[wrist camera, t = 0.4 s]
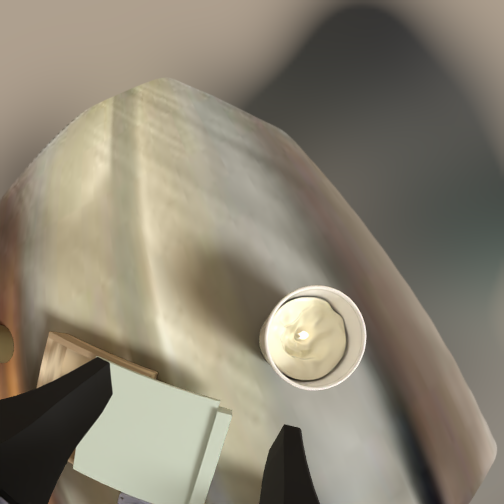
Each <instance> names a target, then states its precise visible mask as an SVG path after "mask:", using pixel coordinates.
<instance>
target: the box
mask: <svg viewBox="0 0 504 504" xmlns="http://www.w3.org/2000/svg"><path fill="white" fill-rule="evenodd" d="M96 356H99V357H102V358H104V359H106V360H108V361H111V362H113V363H115V364H118V365H120V366H123V367H125V368H127V369H130V370H132V371H135V372H137V373H140V374H142V375H145V376H148V377H150V378H153V379H156V378H157V374H158V372H156V371H153V370H150V369H148V368H145V367H142V366H140V365H137V364H135V363H132V362H130V361H127V360H125V359H122V358H120V357H118V356H115V355H113V354H111V353H108V352H106V351H104V350H101V349H99V348H97V347H95V346H92V345H90V344H88V343H86V342H84V341H82V340H80V339H78V338H76V337H73V336H71V335H69V334H67V333H58V332H49V335H48V339H47V343H46V347H45V351H44V355H43V360H42V364H41V369H40V374H39V378H38V384H37V388H38V387H41V386H43V385H45V384H47V383H49V382H52V381H54V380H56V379H58V378H60V377H61V376H63V375H65V374H67V373H69V372H71V371H73V370H75V369H76V368H78V367H80V366H82V365H83V364H85V363H87V362H89V361H91V360H92V359H94V358H96ZM75 451H76V448H75V450H74V451H73V453H72V454H71V456H70V458H69V460H68V462H70V463H72V464H74V458H75Z"/></svg>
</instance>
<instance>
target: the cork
mask: <svg viewBox="0 0 504 504" xmlns="http://www.w3.org/2000/svg"><path fill="white" fill-rule="evenodd" d="M13 352H14V342H13V337H12V335H11V332H10V331H9V329H8V328H6V327H5V326H3V325H0V363H6V362H8V361H9V360H10V359H11V357H12V355H13Z"/></svg>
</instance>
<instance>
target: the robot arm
mask: <svg viewBox="0 0 504 504" xmlns="http://www.w3.org/2000/svg"><path fill="white" fill-rule="evenodd" d="M112 395H113V390H112V381H111V371H110V363H109V362H107V361H105V360H103V359H101V358H99V357H96V358H94V359H92V360H91V361H89V362H87V363H85V364H83V365H82V366H80V367H78V368H76V369H75V370H73V371H71V372H69V373H67V374H65V375H63V376H61V377H60V378H58V379H56V380H54V381H52V382H49V383H47V384H45V385H43V386H41V387H38V388H36V389H34V390H31V391H28V392H26V393H23V394H20V395H17V396H13V397H10V398H6V399H2V400H0V504H48V502H49V499H50V497H51V494H52V492H53V490H54V487H55V485H56V483H57V481H58V479H59V477H60V475H61V473H62V471H63V469H64V467H65V465H66V463H67V461H68V460H69V458H70V456H71V454H72V453H73V451H74V450H75V448H76V447H77V445H78V444H79V443H80V441H81V440H82V439H83V437H84V436H85V435H86V433H87V432H88V431H89V430H90V428H91V427H92V426H93V424H94V423H95V422H96V420H97V419H98V418H99V416H100V415H101V414H102V412H103V411H104V409H105V407H106V405H107V404H108V402H109V400H110V398H111V396H112ZM121 497H123V498H124V499H122V498H121ZM118 504H152V503H149V502H147V501H144V500H141V499H138V498H136V497H133V496H131V495H128V494H126V493H123V492H121V493H120V494H119V499H118ZM259 504H320V503H319V500H318V497H317V495H316V492H315V489H314V486H313V483H312V479H311V476H310V472H309V468H308V464H307V460H306V456H305V451H304V446H303V440H302V433H301V429H300V428H298V427H294V426H289V425H285V424H284V426H283V427H282V429H281V431H280V433H279V434H278V436H277V438H276V440H275V441H274V443H273V445H272V446H271V448H270V450H269V453H268V457H267V461H266V465H265V469H264V474H263V481H262V488H261V495H260V502H259Z"/></svg>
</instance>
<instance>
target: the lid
mask: <svg viewBox="0 0 504 504" xmlns="http://www.w3.org/2000/svg"><path fill="white" fill-rule="evenodd" d="M96 357H99V356H96ZM99 358H101V359H103V360H105V361H107V362H109V363H110V371H111V381H112V390H113V395H112V396H111V398H110V400H109V402H108V404H107V405H106V407H105V409H104V411H103V412H102V414H101V415H100V416H99V418H98V419H97V420H96V422H95V423H94V424H93V426H92V427H91V428H90V430H89V431H88V432H87V433H86V435H85V436H84V437H83V439H82V440H81V441H80V443H79V444H78V445H77V447H76V451H75V458H74V465H73V469H74V470H76V471H78V472H80V473H82V474H84V475H86V476H88V477H90V478H92V479H94V480H96V481H98V482H100V483H103V484H105V485H107V486H109V487H111V488H114V489H116V490H118V491H121V492H123V493H126V494H128V495H131V496H133V497H136V498H139V499H141V500H144V501H147V502H150V503H152V504H204V503H205V500H206V497H207V494H208V491H209V488H210V485H211V482H212V479H213V475H214V472H215V469H216V466H217V463H218V460H219V457H220V454H221V450H222V447H223V444H224V441H225V438H226V434H227V431H228V428H229V425H230V422H231V418H232V410H230V409H227V408H223V407H219V404H220V400H217V399H214V398H210V397H207V396H204V395H200V394H197V393H194V392H191V391H188V390H185V389H182V388H179V387H176V386H173V385H170V384H167V383H164V382H161V381H159V380H156V379H153V378H150V377H148V376H145V375H142V374H140V373H137V372H135V371H132V370H130V369H127V368H125V367H123V366H120V365H118V364H115V363H113V362H111V361H108V360H106V359H104V358H102V357H99Z"/></svg>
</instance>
